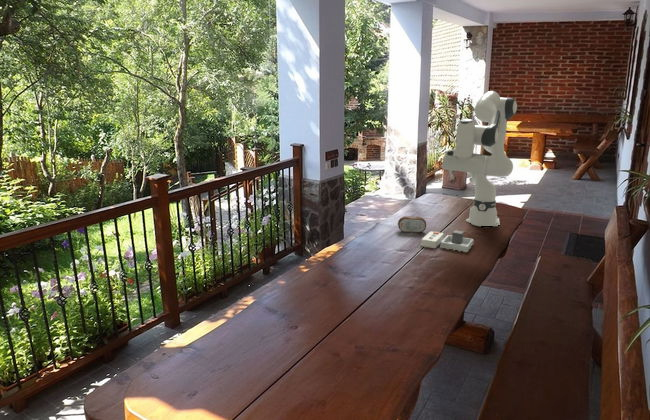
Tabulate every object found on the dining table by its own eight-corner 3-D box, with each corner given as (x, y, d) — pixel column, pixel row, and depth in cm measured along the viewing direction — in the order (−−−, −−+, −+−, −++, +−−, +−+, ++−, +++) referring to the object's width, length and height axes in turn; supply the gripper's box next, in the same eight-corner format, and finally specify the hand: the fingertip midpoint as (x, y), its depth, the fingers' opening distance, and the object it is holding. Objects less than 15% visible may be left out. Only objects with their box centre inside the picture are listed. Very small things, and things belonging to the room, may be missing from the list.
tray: (447, 240, 251) (447, 235, 250) (473, 244, 245) (473, 239, 244) (440, 247, 240) (440, 242, 239) (467, 252, 234) (467, 246, 233)
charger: (453, 243, 245) (454, 230, 243) (462, 244, 243) (463, 231, 241) (451, 245, 241) (452, 232, 240) (460, 247, 239) (461, 233, 238)
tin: (425, 231, 265) (426, 216, 263) (426, 233, 262) (427, 218, 260) (397, 230, 266) (398, 215, 264) (397, 232, 263) (398, 217, 261)
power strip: (433, 234, 260) (433, 227, 259) (446, 236, 257) (447, 229, 256) (421, 245, 242) (421, 238, 241) (435, 248, 239) (435, 240, 238)
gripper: (487, 153, 239) (484, 181, 243) (445, 150, 249) (443, 177, 252) (484, 155, 234) (481, 183, 238) (442, 151, 243) (439, 179, 247)
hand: (461, 180), depth 245 cm, fingers open, 8 cm apart
